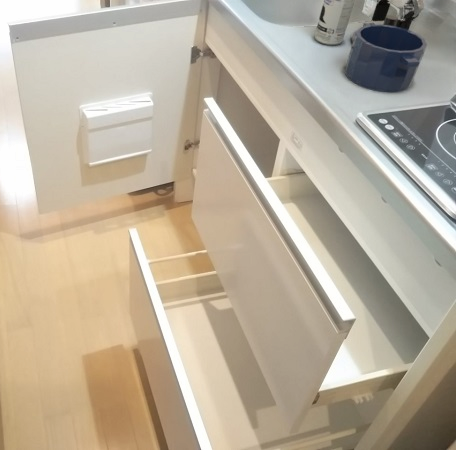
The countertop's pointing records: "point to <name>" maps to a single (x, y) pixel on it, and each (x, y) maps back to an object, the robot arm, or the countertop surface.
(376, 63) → the pot
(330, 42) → the spray can
